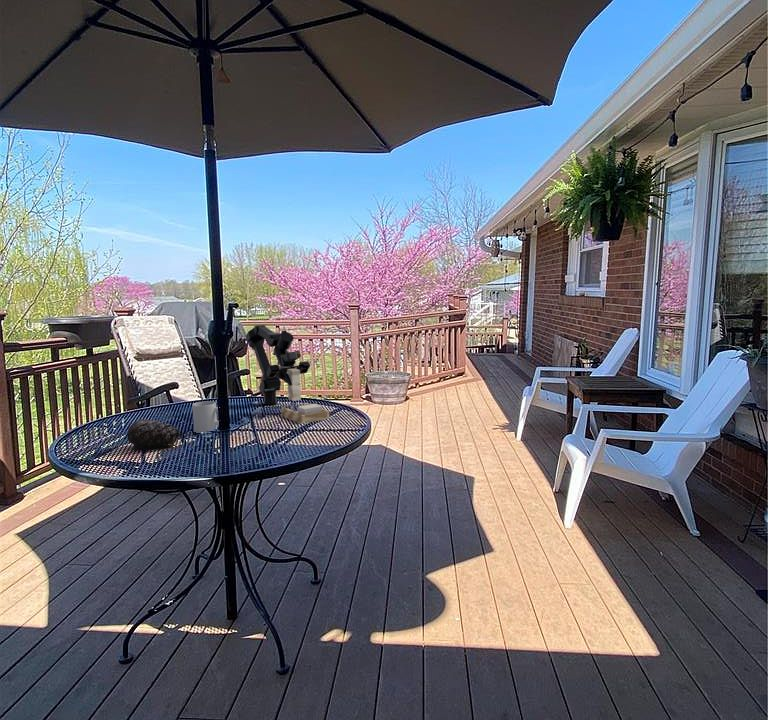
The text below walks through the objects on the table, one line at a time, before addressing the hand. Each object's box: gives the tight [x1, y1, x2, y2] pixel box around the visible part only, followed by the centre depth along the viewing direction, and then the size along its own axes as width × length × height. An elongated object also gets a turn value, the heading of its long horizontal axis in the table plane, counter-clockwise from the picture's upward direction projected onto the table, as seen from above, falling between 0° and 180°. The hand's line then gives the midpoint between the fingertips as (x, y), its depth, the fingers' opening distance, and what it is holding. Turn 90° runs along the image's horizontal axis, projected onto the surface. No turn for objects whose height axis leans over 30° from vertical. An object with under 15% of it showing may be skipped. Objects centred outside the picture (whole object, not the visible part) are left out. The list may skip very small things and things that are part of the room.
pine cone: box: [126, 418, 181, 451], centre depth 166 cm, size 10×18×10 cm, turn 95°
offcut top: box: [297, 403, 323, 415], centre depth 196 cm, size 6×8×2 cm
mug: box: [191, 400, 220, 433], centre depth 183 cm, size 12×8×11 cm
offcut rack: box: [279, 402, 332, 425], centre depth 200 cm, size 20×14×4 cm
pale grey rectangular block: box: [287, 369, 302, 402], centre depth 206 cm, size 5×4×13 cm
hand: (295, 384), depth 205 cm, fingers closed on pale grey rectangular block, 3 cm apart
